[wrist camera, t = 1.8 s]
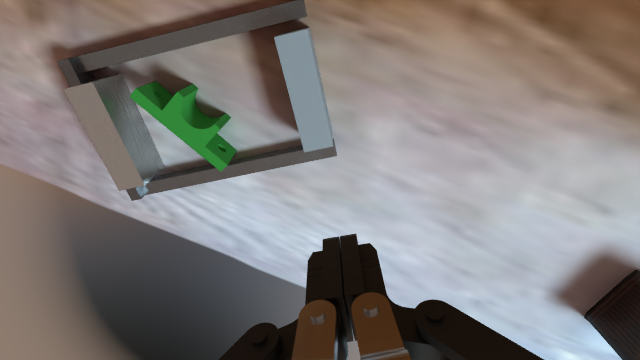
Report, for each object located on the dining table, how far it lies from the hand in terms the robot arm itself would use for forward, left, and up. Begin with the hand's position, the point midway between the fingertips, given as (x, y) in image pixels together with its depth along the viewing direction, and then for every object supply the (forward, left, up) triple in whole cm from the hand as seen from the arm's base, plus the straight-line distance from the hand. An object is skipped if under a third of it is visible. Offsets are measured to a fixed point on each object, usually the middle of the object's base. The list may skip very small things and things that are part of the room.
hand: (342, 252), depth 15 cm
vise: (-3, -13, -25) cm, 28 cm away
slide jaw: (-3, -2, -25) cm, 25 cm away
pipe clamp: (-3, -14, -25) cm, 29 cm away
